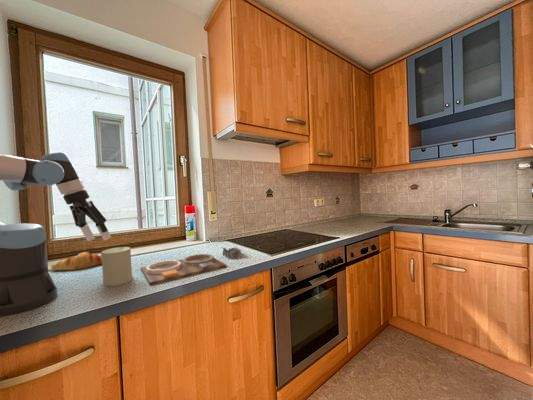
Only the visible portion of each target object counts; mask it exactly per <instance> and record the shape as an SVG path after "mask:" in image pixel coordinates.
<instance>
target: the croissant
mask: <svg viewBox="0 0 533 400" xmlns="http://www.w3.org/2000/svg"><path fill="white" fill-rule="evenodd" d="M99 265H102V256H101V254H100V255H99V254H97V253H90V252H89V251H84V252H80V253H78V254H77V255H73V256H68V257H67V258H65V259H63V260H60V261H57V262H56V263H54V264H52V265H51V266H50V269H52V270H54V271H76V270H81V269H82V270H83V269H87V268H88V269H89V268H91V267H95V266H99Z"/></svg>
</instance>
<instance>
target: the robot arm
mask: <svg viewBox="0 0 533 400" xmlns="http://www.w3.org/2000/svg"><path fill="white" fill-rule="evenodd" d="M0 181H3V183H4V184H5V186H6V187H7V189H9V190H12V191H20V190H25V189H27V188H33V187H43V186H54V185H55V186H56V187H57V189H58V191H59V193H60V194H61V195H63V200H64V201H65V204H66V205H68V206H69V209H70V211H71V214H72V217H73V220H74V225H75V226H76V227H78V228H80V230H81V233H82V234H83V237H85V239H86V241H87V242H90V241H93V240H95V239H96V237H95V236H94V234H93V231H92V230H91V228H90V226H89V223H88V222H87V220H86V219H87V217H88V218H89V219H90V220H91V221H93V223H94V224H95V227H96V228H97V231H98V232H99V234H100V236H101V238H102V240H103V241H104V242H106V241H107V240H109V239H111V238H112V236H111V233H110V231H109V230H108V227H107V226H106V223H105V222H107V219H106V217H105V216H104V215H103V214H102V213H101V212H100V210H99V209H98V208H97V207H96V206H95V204H94V202H93V200H88V199H90V195H89V193H88V191H87V189H84V188H85V186H84V183H83V182H84V181H83V180H81V178H80V177H79V175H78V172H77V170H76V168H75V167H74V165H73V162H72V160H71V159H70V157H69V156H68V154H67V153H66V152H63V151H57V152H52V153H48V154H47V153H46V154H44V155H42V156H41V160H38V159H31V158H25V157H21V156H13V155H9V154H3V153H0ZM87 200H88V201H87ZM86 216H87V217H86ZM47 247H48V246H47V233H46V229H45V227H44V226H43V225H41V224H38V223H9V224H8V223H5V222H3V221H2V220H0V317H2V316H9V315H13V314H14V315H15V314H17V313H22V312H25V311H29V310H32V309H35V308H37V307H38V308H39V307H40V306H43V305H45V304H47V303H49V302H51V301H53V300H54V299H55V298H57V297H58V287H57V285H56V284H55V282H54V280H53V279H52V276H51V275H50V273H49V265H48V248H47Z"/></svg>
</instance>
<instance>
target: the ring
mask: <svg viewBox="0 0 533 400" xmlns="http://www.w3.org/2000/svg"><path fill="white" fill-rule="evenodd" d="M167 264H175V265H176V266H174V267H171V268H167V269H159V270H154V269H151V268H154V267H156V266H160V265H167ZM146 266H147V267H146V272H147V273H149V274H162V276H163V277H164V278H167V277H171V276H176V275H178V271H177V270H178V269H179V268H180V267H181V262H180V261H176V260H174V259H172V260H171V259H167V260H162V261H161V260H160V261H157V262H153V263H151V264H150V263H149V264H148V265H146Z"/></svg>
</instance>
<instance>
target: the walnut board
mask: <svg viewBox="0 0 533 400" xmlns="http://www.w3.org/2000/svg"><path fill="white" fill-rule="evenodd" d="M176 261H180V262H181V267H180V268H179V269H178V270H177V271H178V275H176V276H171V277H167V278H164V277H163V276H162V274H149V273H147V272H146V267H147V266H148V265H146V266H141V267H140V271H141V273H142V275H143V276H144V278H145V279H146V281H147V283H148V284H149V286H153V285H157V284H161V283H165V282H170V281H174V280H179V279H182V278H186V277H191V276H195V275H198V274H202V273H207V272H211V271H215V270H220V269H222V268H223V269H224V268H226V267H227V264H226V263H224V262H222V261H220V260H219V259H217V258H215V257H214V255H212V254H210V253H209V254H207V253H199V254H198V253H196V254H193V255H188V256H186V257H184V258H182V259H177V260H176ZM174 266H176V265H175V264H167V265H160V266H156V267H154V268H151V269H154V270H159V269H167V268H171V267H174Z"/></svg>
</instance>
